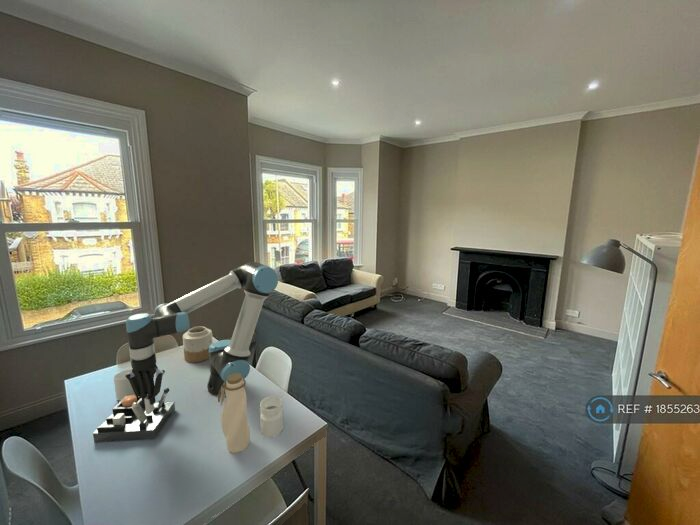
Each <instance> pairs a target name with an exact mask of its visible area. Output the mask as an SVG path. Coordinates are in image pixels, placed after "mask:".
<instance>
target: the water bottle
mask: <svg viewBox="0 0 700 525" xmlns="http://www.w3.org/2000/svg"><path fill="white" fill-rule="evenodd" d="M246 384H247V381H246V378H245V379H243V378H242V375H241V374H240V373H233V374H230V375H229V376H228V377H227V382H226V383H225V382H224V383H223V385H222V387H221V389H220V391H219V394H218V395H217V402H218V403H220V407H222V406H223V407H222V409H221V415H220V416H221V417H220V425H221V429H222V433H223V435H224V438H225V443H226V449H227V451H228V452H229V453H233V454H236V453H241V452H243V451H244V450H245V449H247V447H248V446H249V444H250V439H251V438H250V437H251V428H250V424H249V421H248V418H247V393H246V392H247V391H246V389H245V385H246ZM224 389H225V394H224ZM220 393H221V395H220ZM225 397H226V398H225ZM224 401H225V402H224Z"/></svg>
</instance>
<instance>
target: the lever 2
mask: <svg viewBox="0 0 700 525" xmlns="http://www.w3.org/2000/svg"><path fill="white" fill-rule="evenodd" d="M169 392H170V388H169V387H164V389H163V392H162V396H160V399H159V400H160V402H158V403H159V404H158V406H157V407H159V408H160V407H161V405H162V404H163V403H164V402H165V400H166V398H167V396H168V394H169Z"/></svg>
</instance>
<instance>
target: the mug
mask: <svg viewBox="0 0 700 525" xmlns="http://www.w3.org/2000/svg"><path fill="white" fill-rule="evenodd" d="M132 369H133V368H130V369H129V368H128V369H125V370H121V371H120V372H117V373H116V374H114V376H113V384H114V391H115V398H116V399H117V400H118V401H119V402H120V401H121V400H122V399H123V398H124V397H125V396H131V395H135V393H134V391H133V389H132V386H131V384H130V382H129V380H128V379H127V378H126V377H125V376H126V375H127V374H128V373H129V372H130V371H132ZM137 379H138V378H137Z"/></svg>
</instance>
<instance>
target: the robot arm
mask: <svg viewBox="0 0 700 525" xmlns="http://www.w3.org/2000/svg"><path fill="white" fill-rule="evenodd" d="M278 284H279V275H278V274H277V271H275V269H274V268H272V267H270V266H269V265H265V264H262V263H260V262H255V261H252V262H248V263H244V264H242V265H241V266H238V267H236V268H234V269H231V270H230V271H229V274H226V275H225V276H222V277H220V278H218V279H216V280H215V281H212V282H210V283H208V284H206V285H204V286H202V287H200V288H198V289H196V290H194V291H191V292H190V293H188V294H185V295H183V296H182V297H180V298H178V299H176V300H173V301H170V302H169V303H166V302H165V303H161V304H159V305H157V306H156V307H155V309H154V312H153V314H154V317H152V316H151V314H150V313H146V312H145V313H137V314H133V315H130V316H129V317H127V319H126V321H125V327H126V330H125V331H126V336H127V342H128V350H129V351H128V352H129V358H130V364H131V369H132V371H130V372H129V373H128V374H127V375H126V376H125V377H126V378H127V379H128V380H129V382H130V384H131V386H132V389H133V391H134V393H135V395H136V397H141V398H142V401H143V405H145V408H146V414H151V412H152V411H153V410H154V403H156V397H157V396H158V395H159V393H160V392H161V388H162V383H163V382H162V380H163V376H164V374H165V373H166V371H165V370H164V369H162V370H160V369H159V368H158V366H157V356H156V348H155V340H154V339H156V338H160V337H164V336H165V337H166V336H169V335H174V334H180V333H182V332H187V331H188V330H189V329H190V319H189V315H188V314H189V313H191V312H193V311H195V310H197V309H199V308H201V307H203V306H205V305H206V304H209V303H211V302H213V301H215V300H217V299H219V298H220V297H222V296H224V295H226V294H228V293H229V292H233V291H234V290H236V289H242V288H243V291H244V293H245V296H244V299H243V302H242V304H241V308H240V311H239V314H238V316H237V320H236V324H235V326H234V330H233V332H232V336H231V337H230V338H231V339H222V340H218V341H214V342H213V344H211V345H210V346H209V359H208V360H209V371H210V373H209V374H210V375H209V378H208V382H207V387H206V388H207V392H208V393H209V394H211V395H214V396H218V394H219V391H220V389H221V387H222V385H223V383H224V382H225V383H226V382H227V377H228V376H229V375H230V374H233V373H240V374H241V375H242V378H243V379H245V380H246V378H247V377H248V375H249V373H250V371H251V367H250V363H249V360H250V356H251V351H250V346H251V344H252V343H251V342H252V339H253V337H254V332H255V329H256V326H257V324H258V320H259V317H260V314H261V312H262V308H263V306H264V302H265V300H266V299H268V298H270V294H271V293H272V292H273V291H275V290H276V288H277V286H278ZM154 377H155V378H154ZM137 378H138V379H137ZM154 379H155V380H154ZM224 395H225V389H224ZM220 396H221V393H220Z"/></svg>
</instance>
